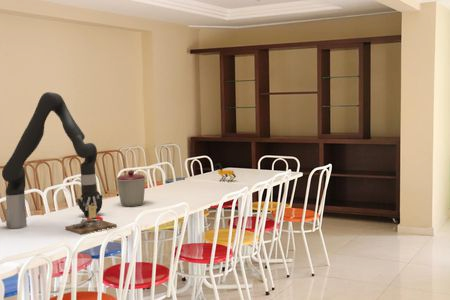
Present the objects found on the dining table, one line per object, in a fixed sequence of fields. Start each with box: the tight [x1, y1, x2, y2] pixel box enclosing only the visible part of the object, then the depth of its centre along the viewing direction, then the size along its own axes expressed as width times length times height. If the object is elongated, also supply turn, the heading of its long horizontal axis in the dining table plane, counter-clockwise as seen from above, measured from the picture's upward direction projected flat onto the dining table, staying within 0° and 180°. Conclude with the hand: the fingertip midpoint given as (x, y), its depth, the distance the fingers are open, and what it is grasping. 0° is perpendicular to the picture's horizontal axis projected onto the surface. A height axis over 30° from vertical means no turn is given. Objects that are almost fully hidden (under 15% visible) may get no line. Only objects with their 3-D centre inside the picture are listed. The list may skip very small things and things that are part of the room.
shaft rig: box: [65, 218, 118, 236], centre depth 301 cm, size 20×16×4 cm
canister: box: [115, 169, 147, 207], centre depth 358 cm, size 18×18×21 cm
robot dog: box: [213, 162, 237, 183], centre depth 439 cm, size 6×18×13 cm, turn 55°
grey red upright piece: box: [86, 204, 104, 221], centre depth 319 cm, size 8×13×9 cm
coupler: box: [84, 205, 97, 219], centre depth 300 cm, size 4×4×6 cm
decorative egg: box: [79, 190, 103, 214], centre depth 332 cm, size 12×12×15 cm
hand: (90, 216), depth 300 cm, fingers closed on coupler, 4 cm apart
